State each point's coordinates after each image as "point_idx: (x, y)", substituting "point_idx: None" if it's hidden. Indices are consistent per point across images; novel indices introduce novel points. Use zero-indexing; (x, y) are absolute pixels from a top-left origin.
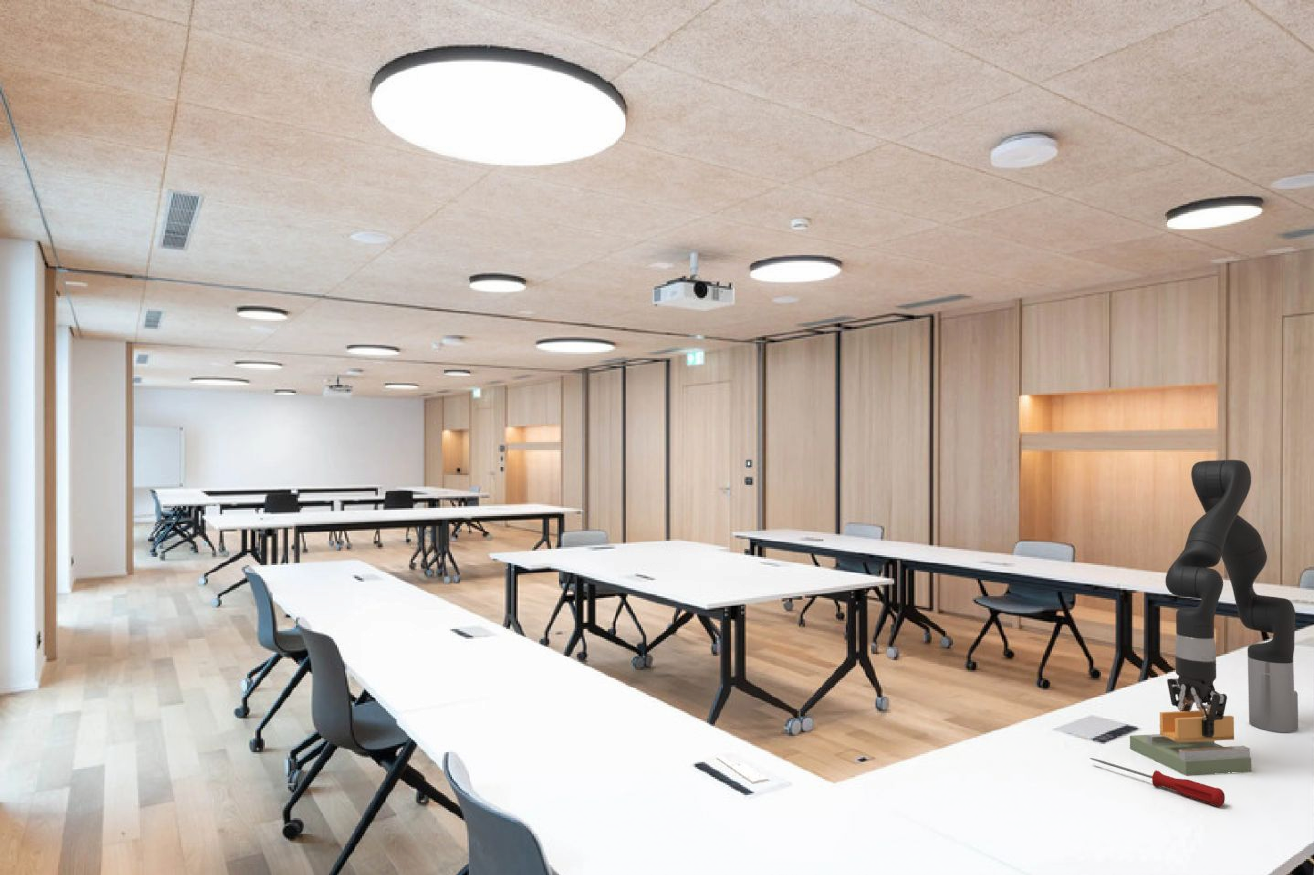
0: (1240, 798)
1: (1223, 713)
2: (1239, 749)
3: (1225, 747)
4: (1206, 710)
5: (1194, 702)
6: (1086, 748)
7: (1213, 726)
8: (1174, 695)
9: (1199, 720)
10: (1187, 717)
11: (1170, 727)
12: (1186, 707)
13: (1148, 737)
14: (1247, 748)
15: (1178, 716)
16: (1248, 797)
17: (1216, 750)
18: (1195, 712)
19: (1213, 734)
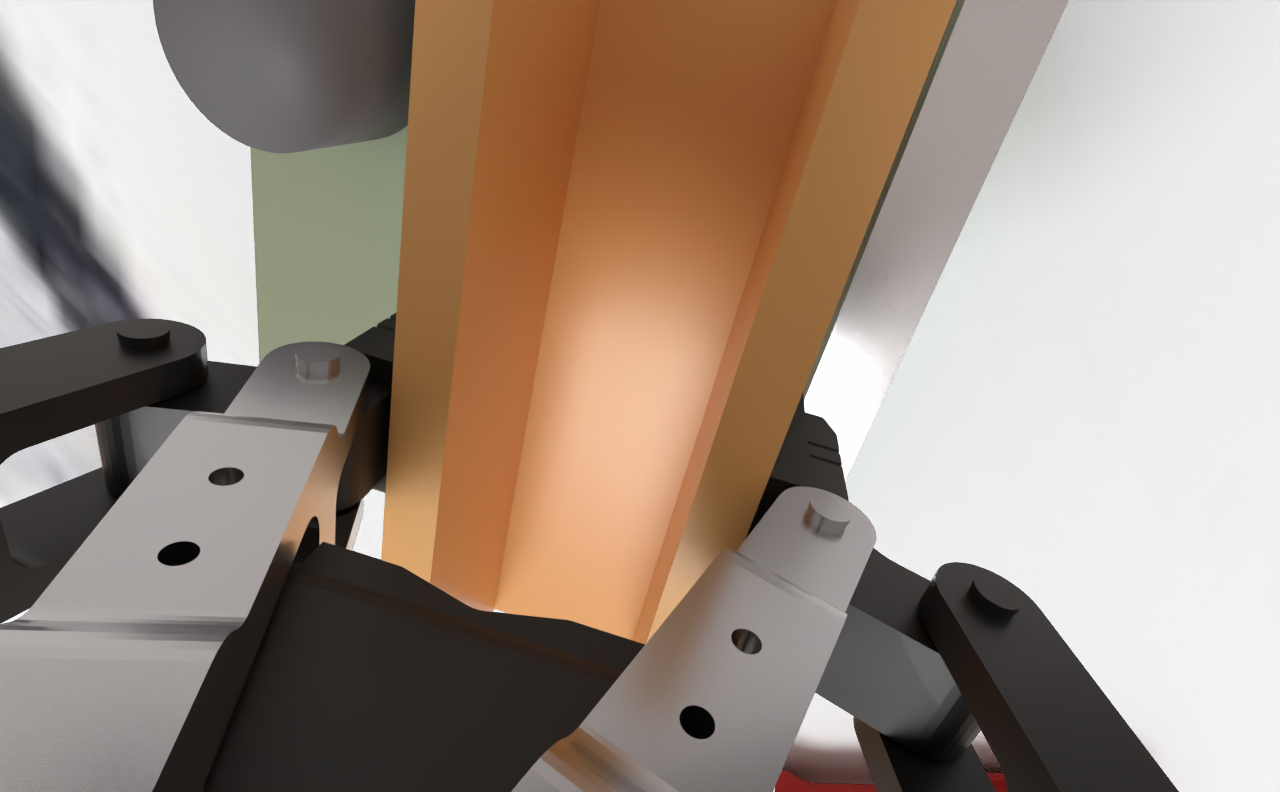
0: (1140, 619)
1: (1100, 703)
2: (1000, 141)
3: (887, 259)
4: (436, 83)
5: (339, 438)
6: None
7: (840, 488)
8: (46, 587)
9: None
10: (470, 456)
11: (489, 577)
12: (346, 469)
13: None
14: (1062, 12)
15: (451, 580)
16: (1173, 569)
17: (872, 416)
18: (457, 370)
19: (827, 429)
